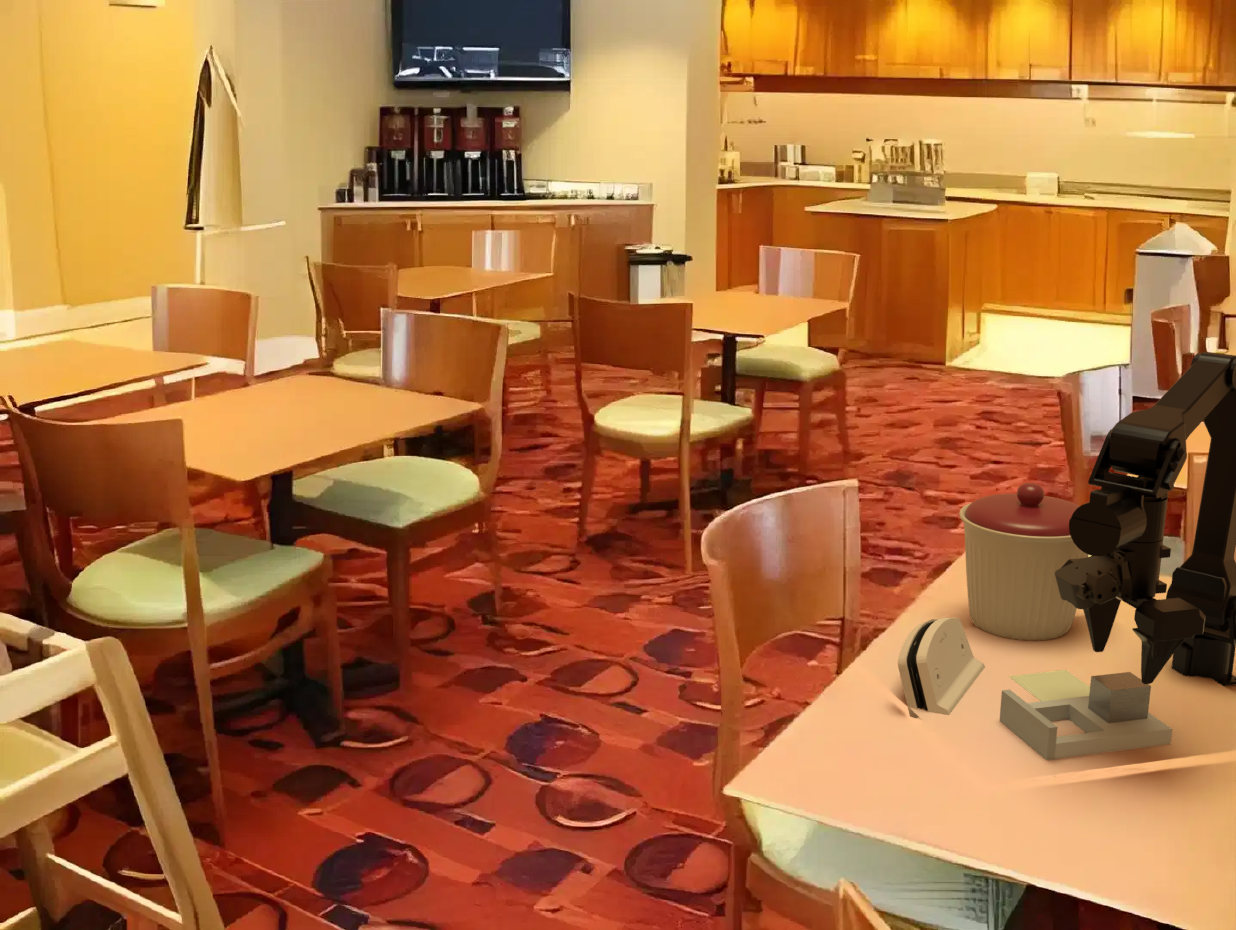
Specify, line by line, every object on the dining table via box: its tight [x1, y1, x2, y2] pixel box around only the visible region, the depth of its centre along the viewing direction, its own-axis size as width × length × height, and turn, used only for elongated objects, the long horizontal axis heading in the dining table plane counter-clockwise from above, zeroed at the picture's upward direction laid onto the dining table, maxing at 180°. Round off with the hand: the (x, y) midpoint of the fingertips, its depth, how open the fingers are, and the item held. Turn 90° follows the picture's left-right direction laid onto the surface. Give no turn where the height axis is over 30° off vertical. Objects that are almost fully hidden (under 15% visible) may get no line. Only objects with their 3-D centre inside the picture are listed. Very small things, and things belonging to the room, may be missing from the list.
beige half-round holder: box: [897, 617, 986, 719], centre depth 166 cm, size 17×5×10 cm, turn 151°
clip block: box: [1088, 671, 1152, 723], centre depth 154 cm, size 5×4×4 cm
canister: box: [958, 482, 1090, 642], centre depth 184 cm, size 18×18×21 cm
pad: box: [1008, 669, 1090, 702], centre depth 166 cm, size 8×8×1 cm
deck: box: [999, 688, 1173, 761], centre depth 153 cm, size 16×10×5 cm, turn 104°
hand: (1121, 667), depth 153 cm, fingers open, 9 cm apart
